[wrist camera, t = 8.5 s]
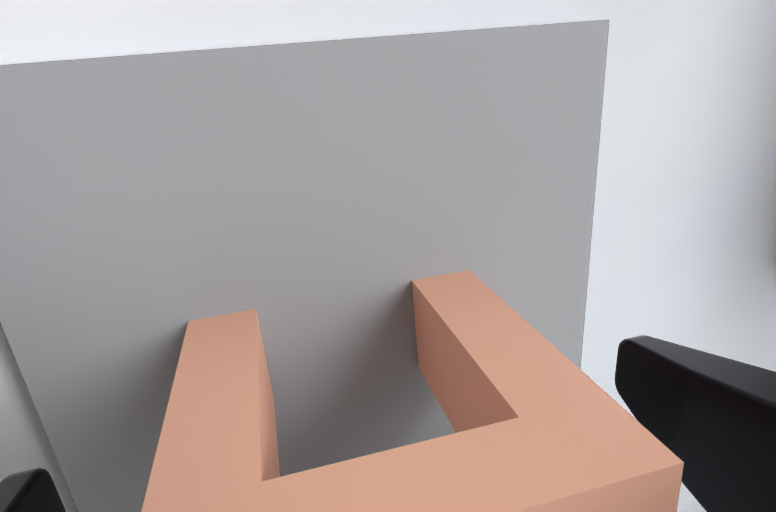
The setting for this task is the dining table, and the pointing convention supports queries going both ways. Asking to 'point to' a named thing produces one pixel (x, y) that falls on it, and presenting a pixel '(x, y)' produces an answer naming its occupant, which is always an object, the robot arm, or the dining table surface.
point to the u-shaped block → (423, 459)
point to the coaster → (286, 226)
